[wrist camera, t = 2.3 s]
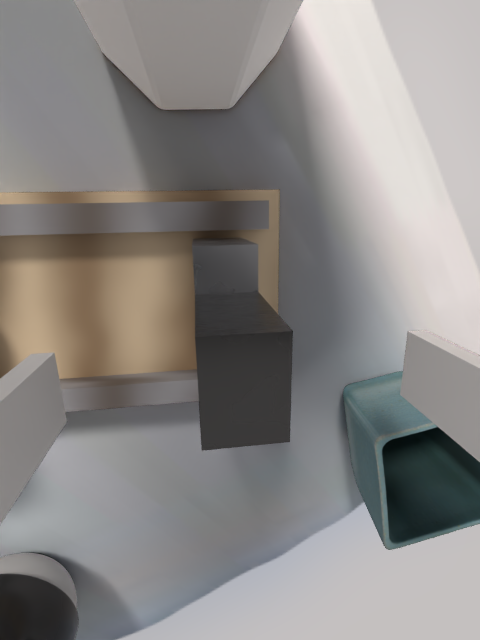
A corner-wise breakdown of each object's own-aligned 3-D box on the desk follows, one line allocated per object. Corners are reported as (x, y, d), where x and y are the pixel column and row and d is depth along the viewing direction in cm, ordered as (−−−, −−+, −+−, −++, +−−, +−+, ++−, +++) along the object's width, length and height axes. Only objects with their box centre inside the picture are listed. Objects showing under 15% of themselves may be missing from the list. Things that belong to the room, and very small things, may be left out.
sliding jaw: (200, 364, 23) (204, 503, 12) (192, 238, 21) (190, 263, 10) (243, 361, 24) (288, 493, 12) (241, 237, 21) (294, 259, 10)
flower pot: (425, 434, 31) (514, 517, 22) (331, 459, 30) (385, 554, 22) (421, 344, 28) (520, 400, 20) (318, 370, 28) (373, 439, 19)
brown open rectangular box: (-91, 407, 24) (-247, 511, 16) (-162, 197, 20) (-424, 181, 12) (271, 380, 27) (306, 454, 19) (272, 191, 23) (318, 176, 15)
